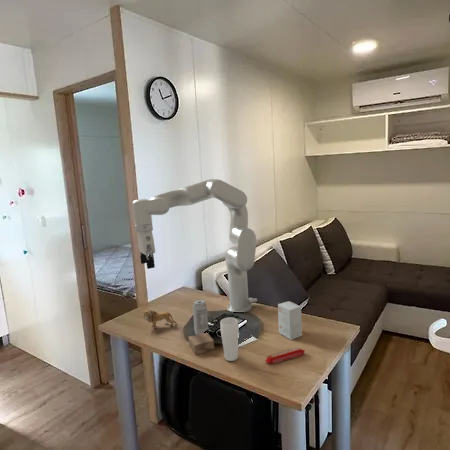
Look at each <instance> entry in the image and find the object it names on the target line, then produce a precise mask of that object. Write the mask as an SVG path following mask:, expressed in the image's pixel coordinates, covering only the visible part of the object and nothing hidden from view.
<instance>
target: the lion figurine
mask: <svg viewBox="0 0 450 450" xmlns="http://www.w3.org/2000/svg"><path fill="white" fill-rule="evenodd" d="M142 314H143V315H142V316H143V319H144V320H145V321H146V322H148V323H152V325H151V327H152V329H153V330H155V329H156V328H157V322H161V321H163V320H165V321H166V322H165V323H164V324H165V325H168V324H169V323H170V325H169V326H170V327H173V326H174V324H176V323H177V322H176V321H175V320H174V318H173V316H172V314H171V313H170V312H168V311H163V312H156V311H154V310H150V309H146V310H144V312H143V313H142Z"/></svg>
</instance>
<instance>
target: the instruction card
mask: <svg viewBox="0 0 450 450" xmlns="http://www.w3.org/2000/svg"><path fill="white" fill-rule="evenodd" d="M251 336H252V337H251V338H249V339H247V338H246V339H247V340H246V339H244V340H246V341H244V342H242V343H241V344H239V345H238V348H240V347H243V346H245V345H248V344H250V343H253V342H255V341H257V340H258V339H257V338H256V337H255V336H253V335H251Z"/></svg>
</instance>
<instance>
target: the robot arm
mask: <svg viewBox="0 0 450 450" xmlns="http://www.w3.org/2000/svg"><path fill="white" fill-rule="evenodd" d="M212 198H214V199H216V200H219V201H220V202H222V204H223V205H224V206H226V208H227V209H228V211H229V214H230V223H229V237H228V238H229V240H230V243H232V244H234V245H236V246H231V247H230V248H228V249H227V250H226V253H225V256H224V257H225V259H224V261H225V264H226V270H227V279H228V297H229V298H228V299H229V303H228V304H227V305H226V309H227V311H228V312H229V313H233V312H244V313H247V312H249V311H251V310H252V308H253V305H252V304H254V303H257V302H258V299H257V298H254V297H249V287H248V271H249V270H251V269H252V268H253V266H254V264H255V261H256V250H257V235H256V233H255V231H254V230H253V229H251V228H250V227H249V225H248V223H249V213H248V207H247V203H248V196H247V195H246V193H245V192H244V191H242V189H239V188H237V187H235V186H233V185H231V184H229V183H228V182H226V181H223V180H222V179H215V178H211V179H207V180H203V181H200V182H198V183H193V184H192V185H188V186H184V187H182V188H181V187H180V188H178V189H174V190H171V191H170V190H169V191H167V192H164V193H161V194H158V195H154V196H152V197H150V198H149V199H146V198H141V199H134V200H132V213H133V222H134V223H133V224H134V232H135V233H137V244H138V251H139V256H140V257H139V258H140V264H141V265H143V264H146V269H148V270H149V269H153V268H156V267H155V266H156V265H155V257H154V255H155V253H156V247H155V241H154V240H155V239H154V235H153V230H154V228H153V227H154V226H153V218H152V216H163V215H165V214H167V213H168V212H169V211H170V209H171V208H174V207H180V206H181V207H183V206H184V207H187V206H192V205H195V204H198V203H200V202H204V201H207V200H210V199H212Z"/></svg>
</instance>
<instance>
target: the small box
mask: <svg viewBox="0 0 450 450" xmlns="http://www.w3.org/2000/svg"><path fill="white" fill-rule="evenodd" d="M277 315H278V321H277V322H278V334H281V335H283V337H285V338H287V339H289V340H290V341H291V340H295V339H297V338H300V337H302V336H303V322H302V321H303V320H302V317H303V316H302V306H300V305H298V304H296V303H294V302H292V301H290V300H289V301H283V302H282V303H278V304H277Z"/></svg>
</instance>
